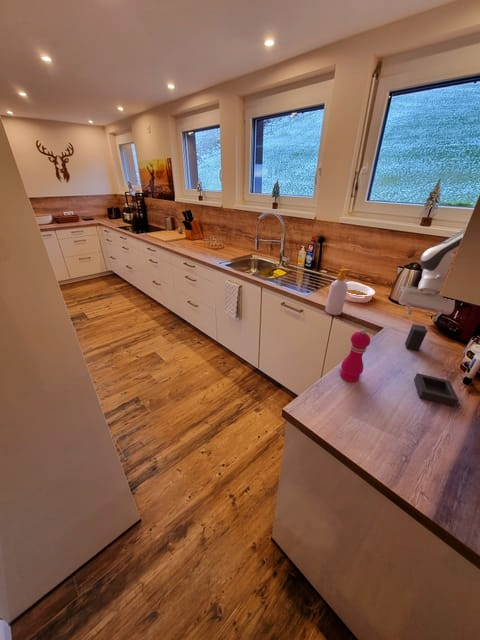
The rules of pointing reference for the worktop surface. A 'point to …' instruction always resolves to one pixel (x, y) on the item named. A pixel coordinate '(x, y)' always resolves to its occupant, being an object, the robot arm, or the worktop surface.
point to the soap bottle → (337, 294)
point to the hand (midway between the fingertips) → (421, 317)
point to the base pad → (435, 390)
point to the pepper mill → (355, 357)
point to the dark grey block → (415, 337)
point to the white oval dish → (361, 288)
